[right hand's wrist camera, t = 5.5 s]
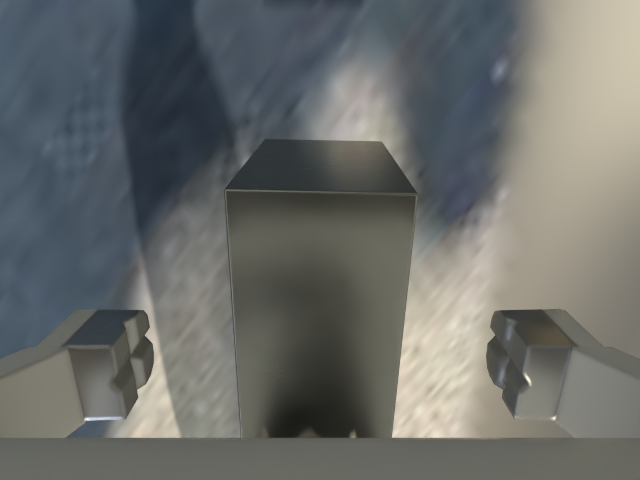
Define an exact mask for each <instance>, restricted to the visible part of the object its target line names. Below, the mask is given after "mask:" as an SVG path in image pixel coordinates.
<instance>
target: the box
mask: <svg viewBox="0 0 640 480" xmlns="http://www.w3.org/2000/svg"><path fill="white" fill-rule="evenodd" d="M224 196H225V211H226V225H227V240H228V255H229V270H230V285H231V299H232V314H233V329H234V344H235V358H236V373H237V388H238V403H239V417H240V432H241V438H392V430H393V421H394V412H395V403H396V394H397V384H398V375H399V366H400V357H401V348H402V338H403V329H404V320H405V311H406V301H407V292H408V283H409V274H410V265H411V255H412V246H413V237H414V228H415V219H416V209H417V200H418V194H417V192H416V191H415V189H414V188H413V186H412V185H411V183H410V182H409V181H408V179H407V178H406V176H405V175H404V173H403V172H402V170H401V169H400V168H399V166H398V165H397V163H396V162H395V160H394V159H393V157H392V156H391V154H390V153H389V152H388V150H387V149H386V147H385V146H384V144H383V143H382V142H378V141H331V140H284V139H265V140H264V141H263V142H262V143H261V145H260V146H259V147H258V148H257V150H256V151H255V152H254V153H253V155H252V156H251V157H250V158H249V160H248V161H247V162H246V163H245V165H244V166H243V167H242V168H241V170H240V171H239V172H238V173H237V175H236V176H235V177H234V178H233V180H232V181H231V182H230V183H229V185H228V186H227V187H226V188H225V190H224Z"/></svg>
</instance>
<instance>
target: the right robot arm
mask: <svg viewBox="0 0 640 480" xmlns="http://www.w3.org/2000/svg"><path fill="white" fill-rule="evenodd" d="M149 328H150V326H149V321H148V316H147V314H146V313H145V311H144V310H103V309H102V310H100V309H81V310H75V311H74V312H73V313H72V314H71V315H70V316H69V317H68V318H66V319H65V320H64V321H63V322H62V323H61V324H60V325H59V326H58V327H57V328H56V329H55V330H54V331H53V332H51V333H50V334H49V335H48V336H47V337H46V338H45V339H44V340H43V341H42V342H41V343H40V344H39V345H37V346H36V347H28V348H25V349H23V350H20V351H18V352H16V353H13V354H11V355H8V356H6V357H3V358H1V359H0V480H640V359H639V358H637V357H634V356H632V355H629V354H627V353H624V352H622V351H620V350H617V349H615V348H612V347H604V346H603V345H602V344H600V343H599V342H598V341H597V340H596V339H595V338H594V337H593V336H592V335H591V334H590V333H589V332H588V331H586V330H585V329H584V328H583V327H582V326H581V325H580V324H579V323H578V322H577V321H576V320H575V319H574V318H573V317H571V316H570V315H569V314H568V313H567V312H566V311H565V310H561V309H546V310H542V309H540V310H500V311H495V312H494V314H493V316H492V320H491V326H490V328H491V329H492V331H493V332H494V334H495V336H494V338H493V339H492V340H491V341H490V342H489V343H488V345H487V353H486V360H487V369H488V372H489V375H490V377H491V379H492V381H493V383H494V384H495V385H497V386H498V387H500V388H501V389H503V394H502V399H503V400H504V402H505V404H506V406H507V407H508V409H509V411H510V412H511V414H512V416H513V418H514V419H522V420H555V423H556V424H558V425H559V426H560V427H562V428H563V429H564V430H566V431H567V432H568V433H570V434H571V435H572V436H574V437H575V438H65V437H67V436H68V435H69V434H71V433H72V432H73V431H75V430H76V429H77V428H79V427H80V426H81V425H83V424H84V423H85V420H117V419H126V418H127V416H128V414H129V413H130V411H131V409H132V407H133V406H134V404H135V402H136V400H137V399H138V394H137V389H139V388H140V387H142V386H144V385H145V384H146V383H147V381H148V379H149V377H150V375H151V372H152V367H153V363H154V351H153V344H152V343H151V342H150V341H149V340H148V339H147V338H146V336H145V334H146V332H147V331H148V329H149Z"/></svg>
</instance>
